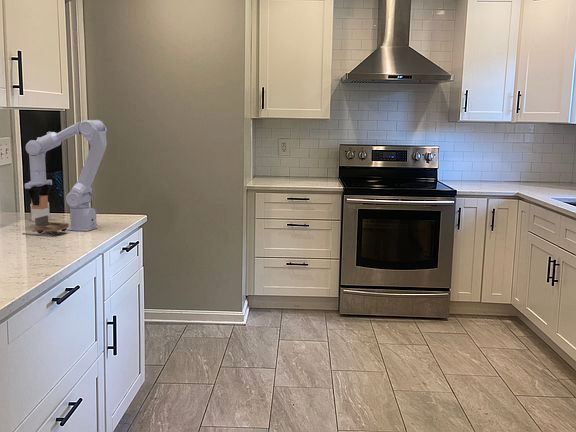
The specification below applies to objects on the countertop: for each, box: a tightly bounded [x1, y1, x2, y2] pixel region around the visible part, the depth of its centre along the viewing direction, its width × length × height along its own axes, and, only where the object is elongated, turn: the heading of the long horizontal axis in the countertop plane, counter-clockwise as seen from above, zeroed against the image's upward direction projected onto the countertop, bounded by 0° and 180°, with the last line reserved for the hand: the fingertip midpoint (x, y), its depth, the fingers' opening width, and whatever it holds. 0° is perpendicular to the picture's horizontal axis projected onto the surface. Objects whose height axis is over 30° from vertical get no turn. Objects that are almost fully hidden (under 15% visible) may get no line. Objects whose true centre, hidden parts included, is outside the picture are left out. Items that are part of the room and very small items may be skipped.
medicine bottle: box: [29, 201, 51, 222], centre depth 248 cm, size 7×7×12 cm
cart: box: [34, 215, 70, 236], centre depth 219 cm, size 9×8×6 cm
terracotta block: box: [30, 195, 49, 209], centre depth 231 cm, size 4×4×5 cm
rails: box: [21, 229, 64, 237], centre depth 220 cm, size 13×7×1 cm, turn 78°
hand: (40, 204), depth 231 cm, fingers closed on terracotta block, 4 cm apart
